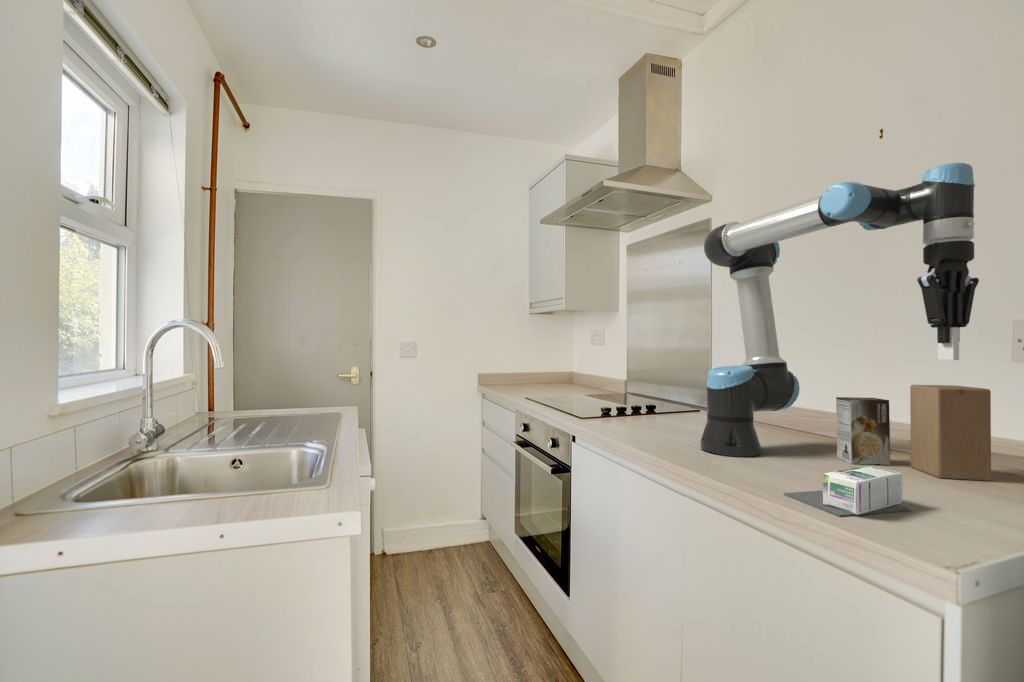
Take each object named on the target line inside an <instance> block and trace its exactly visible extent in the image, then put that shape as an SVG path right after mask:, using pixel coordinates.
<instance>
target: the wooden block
mask: <svg viewBox="0 0 1024 682" xmlns="http://www.w3.org/2000/svg"><path fill="white" fill-rule="evenodd" d="M909 391H910V393H909V395H910V401H909V403H910V417H909V418H910V421H909V422H910V467H911V468H913V469H915V470H918V471H920V472H922V471H923V472H922V473H925V474H928V475H930V476H933V477H935V478H937V479H945V478H947V479H948V480H963V479H965V480H967V481H981V480H983V481H986V482H990V481H991V480H992V443H991V442H992V427H991V426H992V423H991V422H992V420H991V419H992V417H991V416H992V415H991V414H992V413H991V411H992V410H991V407H992V406H991V405H992V403H991V402H992V401H991V398H992V397H991V390H990V389H989V388H984V387H983V388H982V387H973V386H963V385H947V384H945V385H942V384H911V385H910V390H909ZM983 481H982V482H983Z"/></svg>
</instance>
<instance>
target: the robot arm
mask: <svg viewBox="0 0 1024 682" xmlns="http://www.w3.org/2000/svg"><path fill="white" fill-rule="evenodd" d="M975 186H976V183H975V180H974V169H973V166H972V165H971V164H969V163H965V162H953V163H952V162H951V163H945V164H941V165H937V166H934V167H932V168H930V169H928V170H926V171H925V172H923V175H922V179H921V183H917V184H914V185H912V186H909V187H908V186H907V187H905V188H900V189H896V190H894V189H887V188H883V187H882V188H881V187H877V186H872V185H868V184H863V183H860V182H857V181H854V182H853V181H840V182H836V183H834V184H832V185H830V186H829V188H828V189H827V190H826V189H825V191H824V192H823V194H821V195H819V196H816V197H812V198H809V199H807V200H804V201H801V202H797V203H795V204H792V205H789V206H786V207H783V208H780V209H777V210H775V211H770V212H769V213H766V214H763V215H759V216H757V217H754V218H751V219H748V220H745V221H742V222H739V221H731V222H728V223H725V224H722V225H719V226H717V227H716V228H713V229H712V230H711V231H709V233H708V234H707V236H705V239H704V243H703V251H704V254H705V257H706V258H707V259H708V260H709V262H710V263H712V264H713V265H715V266H716V265H717V266H719V267H724V268H729V276H730V278H731V279H732V280H734V281H735V282H736V287H737V297H738V305H739V313H740V318H741V319H740V320H741V328H742V335H743V342H744V343H743V345H744V350H745V361H744V362H743V363H742V364H741V365H740V364H739V365H724V366H718V367H714V368H711V369H710V370H709V371H708V372H707V381H706V407H707V408H706V411H707V413H706V414H707V416H706V417H707V419H706V424H705V427H704V429H703V432H702V437H701V438H700V444H699V446H700V447H701V448H702V449H703V450H702V449H701V448H700V449H701V450H702V451H704V450H705V451H704V452H706V451H708V452H707V453H710V452H712V453H711V454H714V453H716V454H715V455H720V454H721V455H720V456H729V457H742V458H743V457H746V458H747V457H756V456H760V455H761V453H762V446H761V442H760V439H759V436H758V434H757V431H756V428H755V424H754V413H755V412H777V411H780V410H786V409H788V408H790V407H791V406H793V404H794V403H796V401H797V399H798V398H799V394H800V382H799V380H798V378H797V376H796V375H794V373H793V372H792V371H790V370H789V369H788V364H787V363H788V362H787V361H785V359H783V358H781V355H780V350H779V344H778V343H779V342H778V337H777V330H776V322H775V314H774V307H773V299H772V298H773V297H772V293H771V284H770V275H771V274H772V273H773V272H774V271H775V270H774V266H775V265H776V264H777V262H778V258H780V252H781V248H780V243H779V242H782V241H784V240H788V239H793V238H795V237H800V236H803V235H807V234H810V233H814V232H817V231H821V230H824V229H828V228H832V227H837V226H840V225H844V224H848V223H852V222H855V223H858V224H859V226H860V227H862V229H864V230H866V231H877V230H885V229H887V228H889V229H890V228H892V227H896V226H900V225H905V224H909V223H913V222H914V223H915V222H917V221H922V244H923V245H925V246H924V247H923V248H922V249H923V250H922V252H923V253H922V254H923V255H922V260H923V261H922V262H923V264H924V265H926V266H928V269H927V271H926V272H927V273H926V274H925V275H924V276H919V277H918V278H917V282H918V285H919V287H920V289H921V294H922V299H923V305H924V310H925V315H926V319H927V323H928V325H930V327H931V328H932V329H933V328H937V329H936V330H937V331H936V333H937V337H936V338H937V348H938V349H937V360H938V361H939V360H940V361H941V360H942V361H960V341H961V340H960V336H961V335H960V334H961V332H960V329H961V328H966V327H967V326H968V325H969V323H970V321H971V320H970V319H971V313H972V308H973V303H974V298H975V291H976V288H977V286H978V284H979V282H980V279H979V277H971V276H970V275H969V273H970V270H969V267H968V263H969V262H972V261H973V260H974V258H975V243H974V241H971V240H973V239H974V238H975V233H974V232H975V230H974V229H975V226H974V225H975V222H974V218H975V214H974V209H975V208H974V207H975V206H974V205H975V204H974V203H975Z"/></svg>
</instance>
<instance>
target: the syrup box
mask: <svg viewBox="0 0 1024 682" xmlns="http://www.w3.org/2000/svg"><path fill="white" fill-rule="evenodd" d="M822 477H823V478H822V490H823V504H825V505H829V506H832V507H835V508H837V509H840V510H843V511H846V512H850V513H853V514H856V515H855V516H860V515H859V514H862V513H866V512H870V511H874V510H878V509H882V508H886V507H889V506H893V505H901V504H903V473H902V472H899V471H895V470H891V469H888V468H882V467H878V466H874V465H871V464H866V465H862V466H857V467H851V468H846V469H840V470H836V471H830V472H826V473H823V475H822Z"/></svg>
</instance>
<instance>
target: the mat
mask: <svg viewBox="0 0 1024 682" xmlns="http://www.w3.org/2000/svg"><path fill="white" fill-rule="evenodd" d="M783 496H785V497H788V498H791V499H794V500H796V501H799V502H802V503H804V504H807V505H809V506H811V507H814V508H817V509H819V510H821V511H824V512H827V513H829V514H832V515H834V516H837V517H839V518H841V517H842V518H843V517H853V516H857V515H856V514H853V513H850V512H846V511H843V510H840V509H837V508H835V507H832V506H829V505H825V504H823V489H821V490H807V491H796V492H795V491H793V492H784V493H783ZM899 511H901V512H910V511H911V509H910V508H908V507H904V506H902V505H900V504H897V505H893V506H889V507H886V508H882V509H878V510H874V511H870V512H866V513H862V514H859V515H858V516H865V514H867V515H876V514H877V513H878V514H888V513H887V512H890V513H897V512H899ZM878 514H877V515H878Z"/></svg>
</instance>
